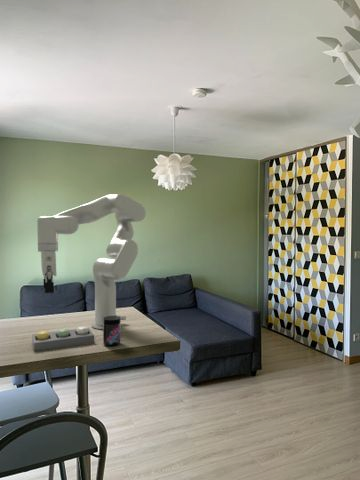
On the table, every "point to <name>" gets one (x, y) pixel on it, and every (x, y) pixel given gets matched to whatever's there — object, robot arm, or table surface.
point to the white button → (82, 330)
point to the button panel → (62, 340)
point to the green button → (62, 333)
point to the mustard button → (42, 335)
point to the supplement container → (111, 330)
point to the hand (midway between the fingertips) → (48, 290)
